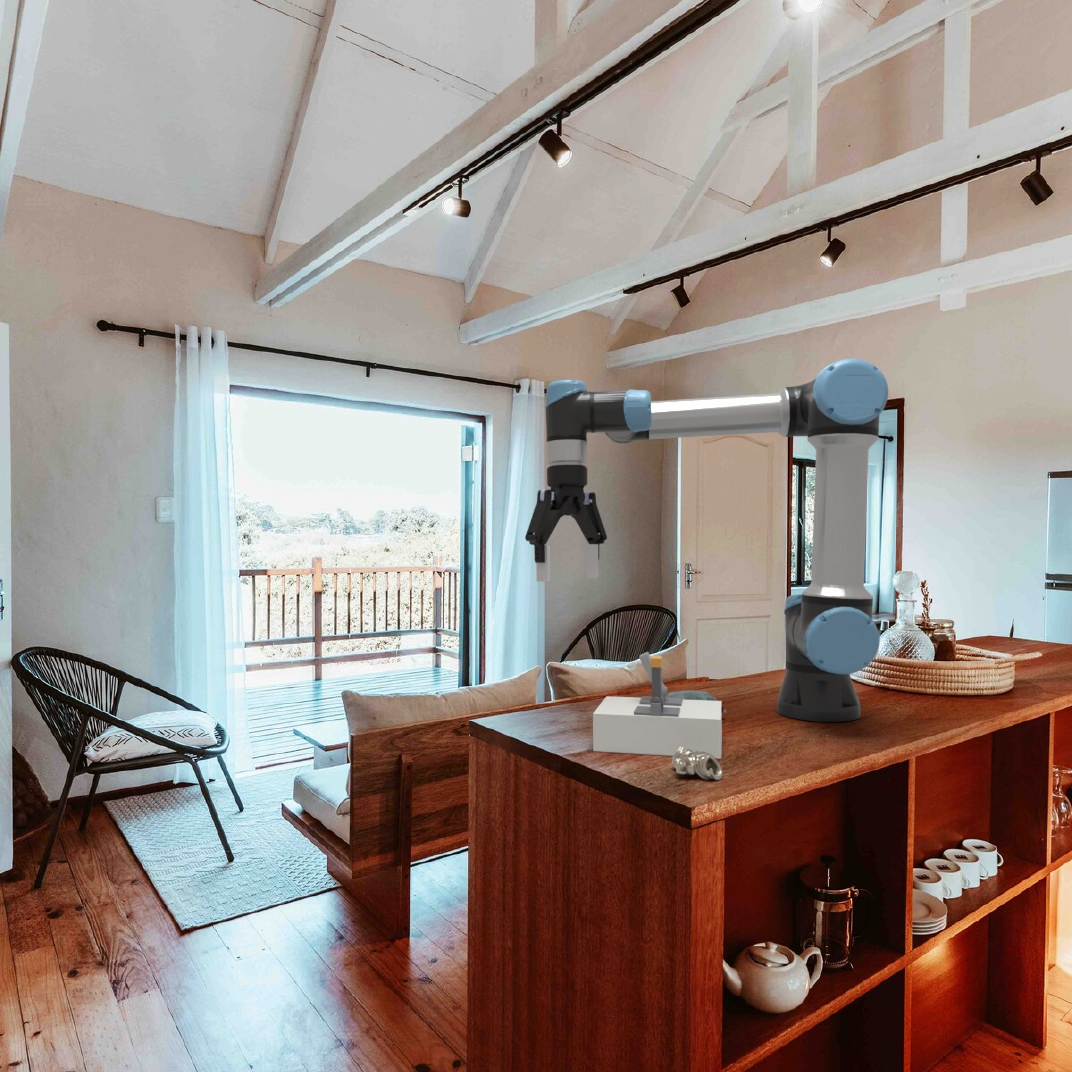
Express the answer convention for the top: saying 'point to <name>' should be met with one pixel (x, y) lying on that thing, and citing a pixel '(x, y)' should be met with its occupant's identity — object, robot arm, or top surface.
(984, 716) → the top surface
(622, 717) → the box
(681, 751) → the ornament
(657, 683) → the lever
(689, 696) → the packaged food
